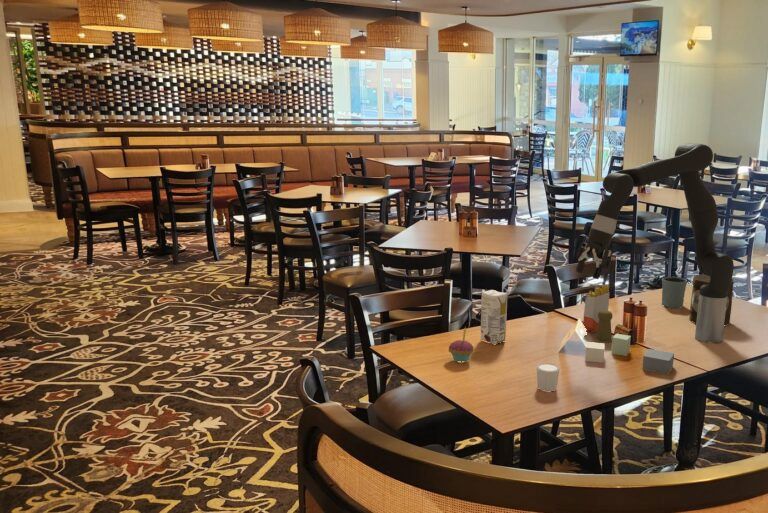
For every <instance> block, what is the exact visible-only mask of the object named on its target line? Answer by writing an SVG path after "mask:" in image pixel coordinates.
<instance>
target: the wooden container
mask: <svg viewBox="0 0 768 513" xmlns="http://www.w3.org/2000/svg"><path fill="white" fill-rule="evenodd" d="M709 282H710V276H707V275H704V274H703V273H701V274H697V275H694V276H693V277H692V291H691V299H690V308H689V318H688V319H689V321H690V322H692V321H693V323H694V322H695V323H694V324H696V322H697V312H698V303H699V292H700V287H701V286H703V285H708V284H709ZM733 290H734V279H733V278H732V281H731V287H730V289H729V291H728V294H727V301H726V311H725V320H724V325H727V324H729V325H730V323H731V322H730V321H731V315H732V314H731V313H732V306H733V305H732V304H733V293H734V292H733ZM727 326H728V325H727Z"/></svg>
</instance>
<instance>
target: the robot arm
mask: <svg viewBox="0 0 768 513" xmlns="http://www.w3.org/2000/svg"><path fill="white" fill-rule="evenodd" d="M713 159H714V152H713V150H712V149H711V147H710V146H709V145H706V144H703V143H692V142H691V143H690V142H689V143H681V144H680V145H679V146H677V148H676V149H675V152H674V156H673V157H670V158H664V159H663V158H662V159H658V160H652V161H648V162H646V163H643V164H640V165H637V166H634V167H631V168H625V169H621V170H616V171H613V172H610V173H609V174H607V175H606V176H605V177H604V178H603V180H602V187H603V189H604V190H605V192H608V194H610V195H609V197H607V198H605V199H602V200H601V202H600V203H599V206H598V207H597V211H596V215H595V217H594V219H593V221H592V223H591V224H592V225H591V227H590V230H589V233H588V236H587V243H586V242H583V241H582V242H580V245H579V247H578V249H577V252H576V255H575V258H576V259H577V261H578V263H577V266H576V270H575V271H576V272H577V273H579V274H582V273H583V272H584V269H585V265H586V262H587V261H588V260H591V259H593V260H594V262H595V265H596V266H595V268H594V272H593V274H592V279H595V280H599V279H600V277H601V275H602V272H603V270H604V269H609V267H610V265H611V264H610V263H611V260H612V257H613V250H609V249H607V247H609V246H610V244H611V242H612V238H613V236H614V234H615V230H616V227H617V223H618V219H619V216H620V213H621V210H622V208H623V207H624V205H625V203H627V201H628V199H629V197H630V196H631V194H632V192H633V190H634V188H641V187H644V186H648V185H651V184H653V183H654V182H658V181H661V180H664V179H667V178H669V177H670V178H671V177H674V176H678V175H679V179H680V182H681V184H682V189H683V192H684V197H685V200H686V206H687V211H688V216H689V219H690V220H689V221H690V223H691V229H692V234H693V240H694V244H695V245H694V246H695V257H696V265H697V266H696V267H697V269H698V271H699V272H700V273H701V274H704V275H707V276H710V282H709V284H708V285H703V286H701V287H700V292H699V303H698V312H697V322H696V323H695V334H694V338H695V340H697V339H698V340H697V341H700V340H701V341H700V342H703V341H705V342H704V343H708V342H719V343H721V342H720V341H722V342H723V337H724V329H725V328H724V327H725V326H724V320H725V311H726V301H727V294H728V291H729V289H730V287H731V281H732V279H733V274H734V260H733V258H732V257H731V256H730V255H728V254H725V253H721V252H717V250H716V247H715V244H714V234H715V231H716V228H717V227H718V225H719V224H718V223H719V219H720V218H719V212H718V207H717V203H716V202H717V201H716V200H715V197H714V196H713V195H712V193H711V192H710V190H709V189H708V187H707V186H706V185H705V184H704V182H703V180H702V178H701V175H700V172H699V171H703V170H705V169H707V168H708V167H710V165H711V164H712V162H713Z"/></svg>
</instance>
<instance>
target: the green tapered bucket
mask: <svg viewBox="0 0 768 513" xmlns="http://www.w3.org/2000/svg"><path fill="white" fill-rule="evenodd" d="M661 284H662V285H661V286H662V287H661V289H662V290H661V306H663V305H664V306H663V307H665V306H666V308H668V307H671V308H670V309H681V308H680V307H682V308H683V307H684V303H685V302H684V299H685V295H686V294H685V292H686V288H687V284H688V279H685V278H683V277H678V276H677V277H676V276H665V277H662V278H661Z"/></svg>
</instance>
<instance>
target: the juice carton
mask: <svg viewBox="0 0 768 513" xmlns="http://www.w3.org/2000/svg"><path fill="white" fill-rule="evenodd" d="M480 308H481V310H480V341H481V340H484V341H487V342H490V343H492V344H497V345H499V344H498V343H500V342H503V341H505V342H506V337H507V312H508V311H507V310H508V293H507V292H503V291H502V292H501V291H497V290H494V289H489V290H486V291H484V292H482V293H481V306H480ZM503 343H504V342H503ZM492 344H491V345H492ZM500 344H501V343H500Z"/></svg>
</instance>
